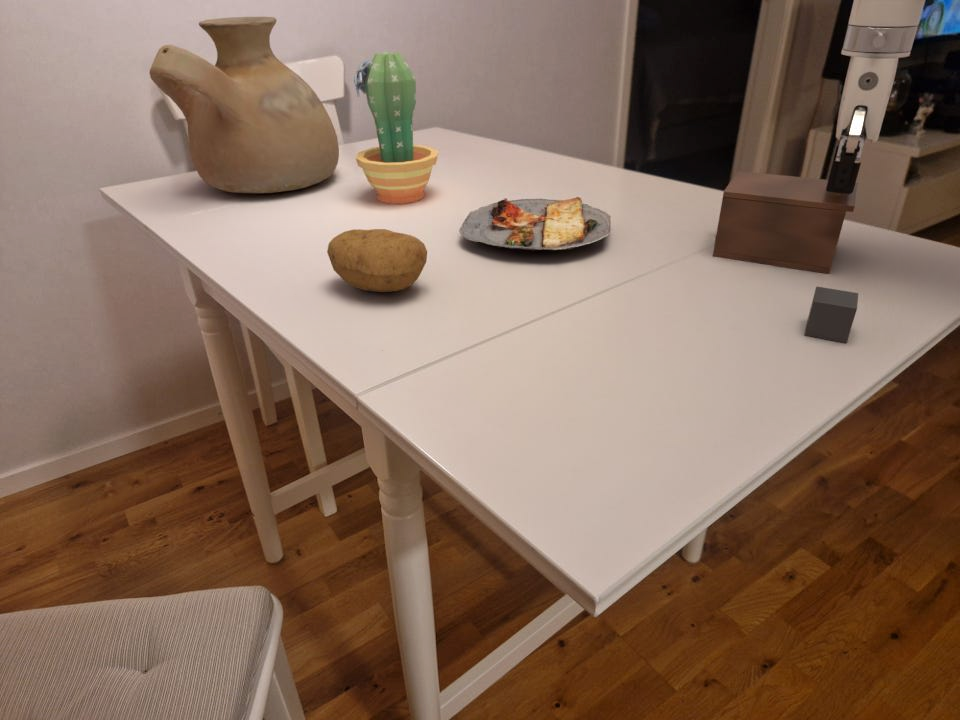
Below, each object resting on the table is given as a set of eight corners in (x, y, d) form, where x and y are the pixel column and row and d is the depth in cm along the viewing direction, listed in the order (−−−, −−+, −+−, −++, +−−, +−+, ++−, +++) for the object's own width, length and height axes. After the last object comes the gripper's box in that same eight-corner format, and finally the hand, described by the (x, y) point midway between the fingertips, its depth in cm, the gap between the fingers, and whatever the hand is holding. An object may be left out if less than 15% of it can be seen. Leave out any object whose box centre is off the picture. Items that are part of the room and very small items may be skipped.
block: (848, 326, 77) (858, 292, 75) (846, 343, 74) (857, 308, 72) (807, 319, 79) (816, 286, 77) (804, 335, 76) (813, 300, 74)
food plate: (480, 207, 119) (479, 187, 117) (610, 212, 115) (612, 192, 113) (448, 259, 98) (447, 237, 96) (607, 268, 94) (609, 244, 92)
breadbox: (834, 245, 99) (849, 188, 95) (829, 273, 90) (846, 211, 86) (726, 231, 105) (736, 176, 101) (712, 255, 97) (722, 197, 92)
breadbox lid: (856, 188, 94) (865, 152, 92) (853, 212, 85) (863, 173, 83) (736, 175, 101) (742, 142, 98) (722, 196, 92) (728, 160, 90)
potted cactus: (406, 180, 135) (395, 46, 122) (458, 195, 125) (452, 51, 112) (343, 197, 125) (325, 54, 112) (394, 215, 116) (380, 60, 103)
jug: (371, 175, 138) (354, 14, 123) (237, 220, 115) (194, 29, 100) (282, 157, 153) (256, 12, 138) (146, 195, 130) (97, 25, 114)
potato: (355, 268, 96) (348, 215, 92) (441, 282, 91) (438, 226, 87) (315, 295, 88) (306, 238, 84) (407, 312, 83) (402, 252, 79)
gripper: (915, 50, 73) (870, 205, 82) (911, 35, 86) (872, 171, 95) (840, 48, 76) (804, 198, 85) (847, 34, 89) (815, 165, 98)
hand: (840, 183), depth 90 cm, fingers open, 7 cm apart
